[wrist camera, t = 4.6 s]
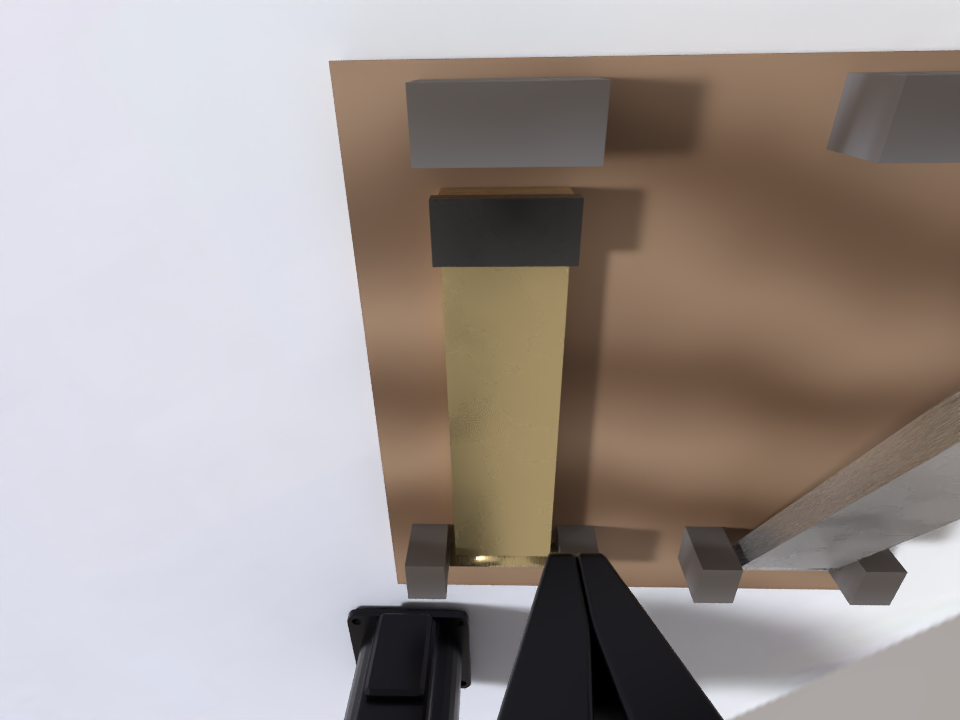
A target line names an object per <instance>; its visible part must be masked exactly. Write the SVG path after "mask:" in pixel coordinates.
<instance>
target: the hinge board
mask: <svg viewBox="0 0 960 720" xmlns="http://www.w3.org/2000/svg"><path fill="white" fill-rule="evenodd" d="M329 67H330V74H331V82H332V89H333V97H334V104H335V112H336V120H337V127H338V135H339V142H340V150H341V157H342V165H343V172H344V180H345V188H346V195H347V203H348V210H349V218H350V225H351V233H352V240H353V248H354V256H355V263H356V271H357V278H358V286H359V293H360V301H361V308H362V316H363V324H364V331H365V339H366V346H367V354H368V361H369V369H370V376H371V384H372V392H373V399H374V407H375V414H376V422H377V429H378V437H379V444H380V452H381V460H382V467H383V475H384V482H385V490H386V497H387V505H388V512H389V520H390V528H391V535H392V543H393V550H394V558H395V565H396V573H397V581H398V584H407V590H408V599H446V594H447V584H456V585H531V586H538V585H539V581H540V578H541V575H542V572H543V568H536V567H455V566H449V547H450V542H455V531H454V512H453V492H452V472H451V452H450V432H449V412H448V392H447V372H446V352H445V332H444V312H443V292H442V273H441V267H432V250H431V233H430V216H429V198H430V196H431V195H438V193H439V191H440V189H441V188H548V187H570V188H571V190H572V191H573V193H574V194H582V196H583V197H584V205H583V218H582V232H581V245H580V258H579V266H569V279H568V293H567V308H566V323H565V338H564V353H563V367H562V382H561V397H560V412H559V427H558V441H557V456H556V471H555V486H554V501H553V515H552V530H551V543H555V546H556V552H571V553H573V554H574V555H575V556H576V555H577V554H578V553H580V552H598V553H602V554H604V555H605V556H606V558H607V559H608V560H609V562H610V563H611V564H612V566H613V567H614V569H615V570H616V571H617V573H618V574H619V575H620V577H621V578H622V580H623V581H624V582H625V584H626V585H627V587H680V588H689V590H690V593H691V596H692V599H693V601H694V603H733V601H734V597H735V594H736V591H737V588H755V589H829V590H841V592H842V593H843V595H844V596H845V598H846V599H847V601H848V603H849V604H850V605H890V603H891V601H892V600H893V598H894V596H895V594H896V592H897V591H898V589H899V587H900V585H901V583H902V581H903V580H904V578H905V576H906V574H907V571H906V570H905V569H904V568H903V566H902V565H901V564H900V563H899V561H898V560H897V559H896V558H895V556H894V555H893V554H892V553H891V551H890V550H889V549H888V548H887V549H885V550H882V551H880V552H877V553H875V554H872V555H870V556H867V557H865V558H862V559H860V560H858V561H855V562H853V563H850V564H848V565H845V566H843V567H842V568H841V570H840V571H778V570H743V569H742V567H741V564H740V562H739V560H738V558H737V556H736V554H735V552H734V550H733V548H732V546H731V545H736V544H735V543H736V542H737V541H739V540H740V539H741V538H743V537H744V536H746V535H747V534H749V533H750V532H752V531H753V530H755V529H756V528H757V527H759V526H760V525H762V524H763V523H765V522H766V521H768V520H769V519H771V518H772V517H773V516H775V515H776V514H778V513H779V512H781V511H782V510H784V509H785V508H787V507H788V506H790V505H791V504H792V503H794V502H795V501H797V500H798V499H800V498H801V497H803V496H804V495H806V494H807V493H808V492H810V491H811V490H813V489H814V488H816V487H817V486H819V485H820V484H822V483H823V482H824V481H826V480H827V479H829V478H830V477H832V476H833V475H835V474H836V473H838V472H839V471H840V470H842V469H843V468H845V467H846V466H848V465H849V464H851V463H852V462H854V461H855V460H856V459H858V458H859V457H861V456H862V455H864V454H865V453H867V452H868V451H870V450H871V449H872V448H874V447H875V446H877V445H878V444H880V443H881V442H883V441H884V440H886V439H887V438H888V437H890V436H891V435H893V434H894V433H896V432H897V431H899V430H900V429H902V428H903V427H904V426H906V425H907V424H909V423H910V422H912V421H913V420H915V419H916V418H918V417H919V416H920V415H922V414H923V413H925V412H926V411H928V410H929V409H931V408H932V407H934V406H935V405H936V404H938V403H939V402H941V401H942V400H944V399H945V398H947V397H948V396H950V395H951V394H952V393H954V392H955V391H957V390H958V389H960V50H954V51H893V52H833V53H772V54H712V55H651V56H590V57H530V58H469V59H409V60H348V61H329Z"/></svg>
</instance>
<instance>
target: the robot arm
mask: <svg viewBox="0 0 960 720" xmlns="http://www.w3.org/2000/svg"><path fill="white" fill-rule="evenodd" d="M347 622H348V627H349V632H350V637H351V641H352V646H353V651H354V656H355V660H356V665H357V666H356V670H355V674H354V679H353V683H352V687H351V692H350V696H349V700H348V705H347V709H346V713H345V718H344V720H459V707H460V689H461V688H467V687H469V686H470V684H471V662H470V636H469V616H468V614H467V613H466V612H463V611H444V610H377V609H355V610H352V611H350V613H349V616H348V620H347ZM497 720H724V719H723V718H722V717H721V715H720V714H719V713H718V711H717V710H716V708H715V707H714V706H713V704H712V703H711V701H710V700H709V699H708V697H707V696H706V695H705V693H704V692H703V690H702V689H701V688H700V686H699V685H698V683H697V682H696V681H695V679H694V678H693V677H692V675H691V674H690V672H689V671H688V670H687V668H686V667H685V665H684V664H683V663H682V661H681V660H680V659H679V657H678V656H677V654H676V653H675V652H674V650H673V649H672V647H671V646H670V645H669V643H668V642H667V641H666V639H665V638H664V636H663V635H662V634H661V632H660V631H659V629H658V628H657V627H656V625H655V624H654V623H653V621H652V620H651V618H650V617H649V616H648V614H647V613H646V611H645V610H644V609H643V607H642V606H641V605H640V603H639V602H638V600H637V599H636V598H635V596H634V595H633V593H632V592H631V591H630V589H629V588H628V587H627V585H626V584H625V582H624V581H623V580H622V578H621V577H620V575H619V574H618V573H617V571H616V570H615V569H614V567H613V566H612V564H611V563H610V562H609V560H608V559H607V558H606V556H605V555H604V554H602V553H598V552H580V553H578V554H577V555H576V556H575V555H574V554H573V553H571V552H551V553H549V554H548V556H547V559H546V562H545V565H544V568H543V572H542V575H541V578H540V581H539V585H538V588H537V591H536V594H535V598H534V601H533V604H532V607H531V611H530V614H529V617H528V620H527V624H526V627H525V630H524V633H523V637H522V640H521V643H520V647H519V650H518V653H517V656H516V660H515V663H514V666H513V669H512V673H511V676H510V679H509V682H508V686H507V689H506V692H505V695H504V699H503V702H502V705H501V708H500V712H499V715H498V718H497Z"/></svg>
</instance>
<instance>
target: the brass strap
mask: <svg viewBox="0 0 960 720" xmlns="http://www.w3.org/2000/svg"><path fill="white" fill-rule="evenodd" d="M583 205H584V197H583V196H582V194H574V193H573V191H572V190H571V188H570V187H548V188H441V189H440V191H439V193H438V195H431V196H430V198H429V216H430V233H431V250H432V267H441V273H442V292H443V312H444V332H445V352H446V372H447V392H448V412H449V432H450V452H451V472H452V492H453V512H454V531H455V542H450V547H449V566H455V567H536V568H544V565H545V562H546V559H547V556H548V554H549V553H551V552H556V546H555V543H551V530H552V515H553V501H554V486H555V471H556V456H557V441H558V427H559V412H560V397H561V382H562V367H563V353H564V338H565V323H566V308H567V293H568V279H569V266H579V258H580V245H581V232H582V218H583Z"/></svg>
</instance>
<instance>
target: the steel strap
mask: <svg viewBox="0 0 960 720" xmlns="http://www.w3.org/2000/svg"><path fill="white" fill-rule="evenodd" d="M959 519H960V389H958V390H957V391H955V392H954V393H952V394H951V395H950V396H948V397H947V398H945V399H944V400H942V401H941V402H939V403H938V404H936V405H935V406H934V407H932V408H931V409H929V410H928V411H926V412H925V413H923V414H922V415H920V416H919V417H918V418H916V419H915V420H913V421H912V422H910V423H909V424H907V425H906V426H904V427H903V428H902V429H900V430H899V431H897V432H896V433H894V434H893V435H891V436H890V437H888V438H887V439H886V440H884V441H883V442H881V443H880V444H878V445H877V446H875V447H874V448H872V449H871V450H870V451H868V452H867V453H865V454H864V455H862V456H861V457H859V458H858V459H856V460H855V461H854V462H852V463H851V464H849V465H848V466H846V467H845V468H843V469H842V470H840V471H839V472H838V473H836V474H835V475H833V476H832V477H830V478H829V479H827V480H826V481H824V482H823V483H822V484H820V485H819V486H817V487H816V488H814V489H813V490H811V491H810V492H808V493H807V494H806V495H804V496H803V497H801V498H800V499H798V500H797V501H795V502H794V503H792V504H791V505H790V506H788V507H787V508H785V509H784V510H782V511H781V512H779V513H778V514H776V515H775V516H773V517H772V518H771V519H769V520H768V521H766V522H765V523H763V524H762V525H760V526H759V527H757V528H756V529H755V530H753V531H752V532H750V533H749V534H747V535H746V536H744V537H743V538H741V539H740V540H739V541H737V542H736V543H735V544H736V545H731V546H732V548H733V550H734V552H735V554H736V556H737V558H738V560H739V562H740V564H741V567H742V569H743V570H778V571H840V570H841V568H842V567H843V566H845V565H848V564H850V563H853V562H855V561H858V560H860V559H862V558H865V557H867V556H870V555H872V554H875V553H877V552H880V551H882V550H885V549H887V548H890V547H892V546H895V545H897V544H899V543H902V542H904V541H907V540H909V539H912V538H914V537H917V536H919V535H922V534H924V533H927V532H929V531H932V530H934V529H936V528H939V527H941V526H944V525H946V524H949V523H951V522H954V521H956V520H959Z"/></svg>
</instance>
